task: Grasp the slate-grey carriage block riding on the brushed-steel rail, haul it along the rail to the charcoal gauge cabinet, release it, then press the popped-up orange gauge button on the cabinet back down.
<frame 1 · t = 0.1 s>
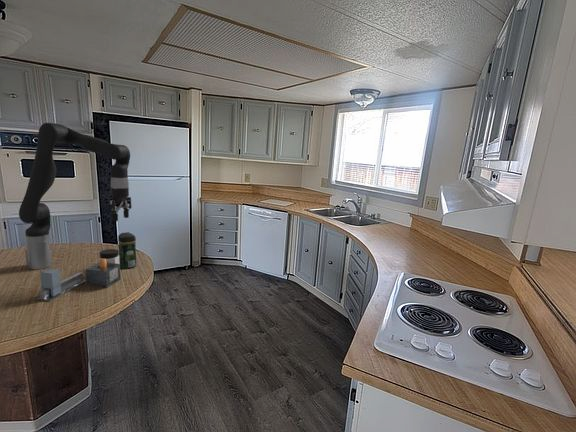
hand: (120, 219, 147), 29 cm above the table, fingers open, 8 cm apart
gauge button: (103, 267, 141), point 7 cm above the table, slide at 3.0 cm
rail: (63, 289, 133), on the table
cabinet: (104, 282, 143), on the table
jar: (109, 274, 153), on the table
carriage: (51, 282, 126), point 6 cm above the table, slide at 0.0 cm
coffee jar: (127, 266, 165), on the table
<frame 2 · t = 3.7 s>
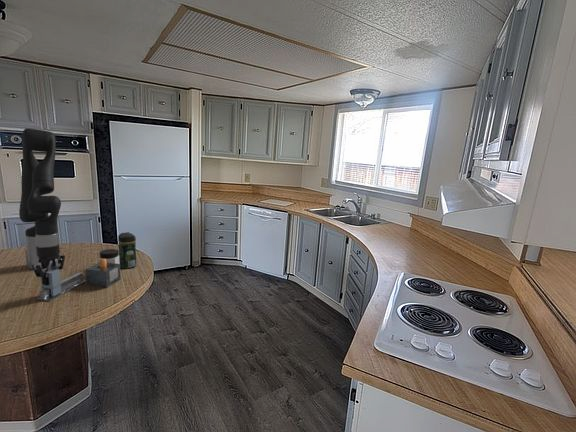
hand: (51, 282, 126), 6 cm above the table, fingers closed on carriage, 4 cm apart
carriage: (51, 282, 126), point 6 cm above the table, slide at 0.0 cm, touching gripper
everything else where it was.
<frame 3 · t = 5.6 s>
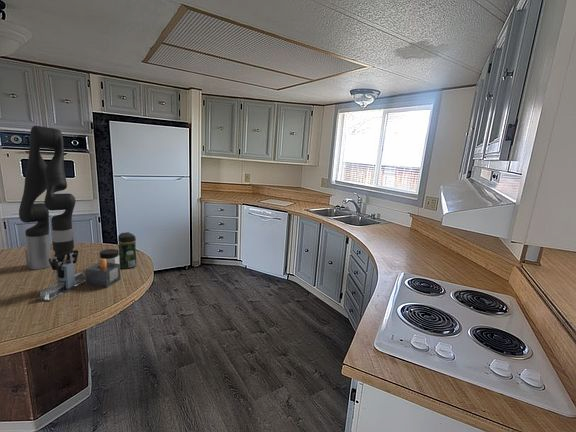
hand: (65, 275, 133), 6 cm above the table, fingers closed on carriage, 4 cm apart
carriage: (65, 275, 133), point 6 cm above the table, slide at 7.7 cm, touching gripper
everything else where it was.
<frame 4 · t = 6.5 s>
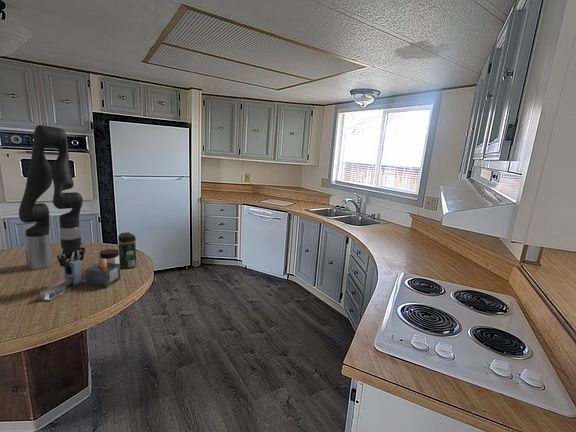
hand: (73, 272, 137), 6 cm above the table, fingers closed on carriage, 4 cm apart
carriage: (73, 271, 137), point 6 cm above the table, slide at 11.9 cm, touching gripper
everything else where it was.
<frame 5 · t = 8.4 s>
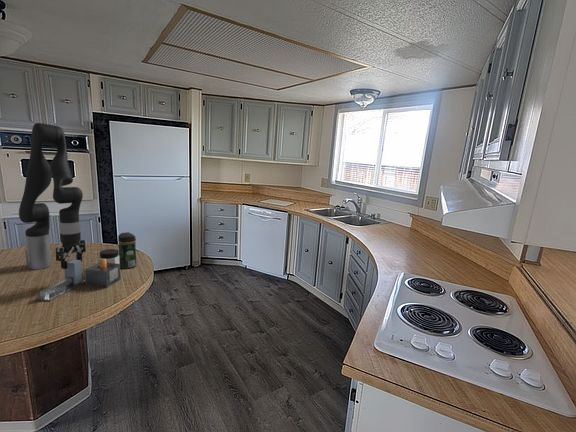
hand: (72, 265, 137), 9 cm above the table, fingers open, 8 cm apart
carriage: (73, 271, 137), point 6 cm above the table, slide at 12.0 cm
everything else where it was.
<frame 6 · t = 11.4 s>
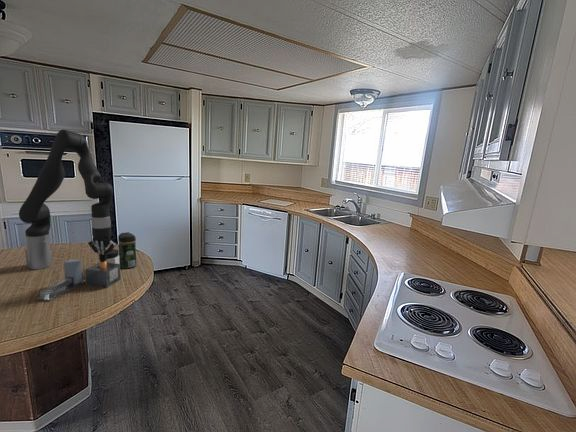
hand: (103, 261, 141), 11 cm above the table, fingers closed
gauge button: (103, 269, 142), point 7 cm above the table, slide at 2.1 cm, touching gripper
everything else where it was.
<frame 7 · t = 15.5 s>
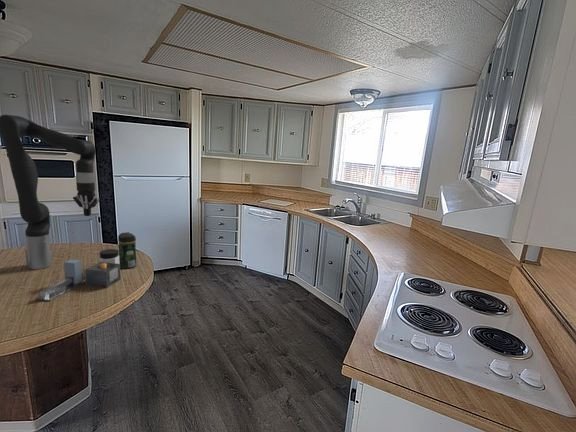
hand: (87, 215, 150), 29 cm above the table, fingers closed
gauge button: (103, 272, 142), point 5 cm above the table, slide at 0.7 cm
everything else where it was.
at the end: carriage slide at 12.0 cm; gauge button slide at 0.7 cm; the gripper is holding nothing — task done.
